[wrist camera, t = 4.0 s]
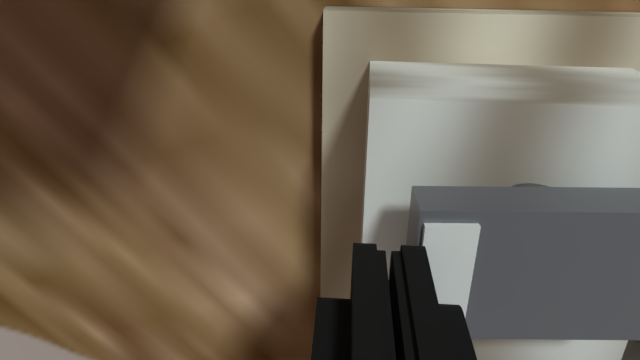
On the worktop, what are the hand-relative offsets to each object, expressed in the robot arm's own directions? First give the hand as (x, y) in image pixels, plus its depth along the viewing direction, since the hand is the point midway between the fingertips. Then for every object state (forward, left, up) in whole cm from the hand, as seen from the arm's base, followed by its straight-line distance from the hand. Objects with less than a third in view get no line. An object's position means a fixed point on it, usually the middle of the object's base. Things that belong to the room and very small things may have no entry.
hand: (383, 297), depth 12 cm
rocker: (-3, 0, -2) cm, 4 cm away
